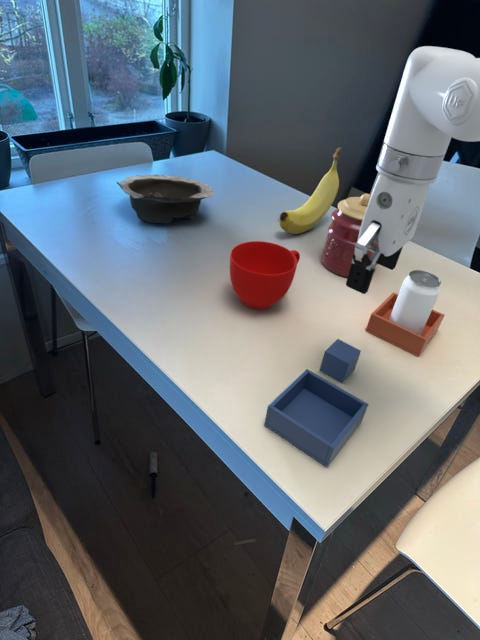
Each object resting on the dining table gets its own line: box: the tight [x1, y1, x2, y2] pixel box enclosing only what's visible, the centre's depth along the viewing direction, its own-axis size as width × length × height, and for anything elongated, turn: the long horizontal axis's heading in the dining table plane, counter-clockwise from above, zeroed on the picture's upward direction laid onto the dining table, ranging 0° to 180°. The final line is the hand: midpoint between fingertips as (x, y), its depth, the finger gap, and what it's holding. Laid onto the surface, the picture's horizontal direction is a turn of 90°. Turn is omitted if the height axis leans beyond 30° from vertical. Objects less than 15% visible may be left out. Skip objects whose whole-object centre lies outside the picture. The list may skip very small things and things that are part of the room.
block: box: [319, 338, 362, 384], centre depth 75 cm, size 4×4×4 cm
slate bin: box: [263, 368, 370, 468], centre depth 65 cm, size 11×11×4 cm
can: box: [389, 269, 442, 335], centre depth 83 cm, size 6×6×12 cm
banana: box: [278, 146, 343, 235], centre depth 115 cm, size 23×6×20 cm, turn 138°
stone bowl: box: [116, 174, 215, 224], centre depth 118 cm, size 25×25×9 cm
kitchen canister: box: [321, 193, 379, 278], centre depth 102 cm, size 13×13×18 cm
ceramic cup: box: [229, 240, 301, 310], centre depth 89 cm, size 13×17×10 cm
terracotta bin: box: [365, 291, 446, 357], centre depth 87 cm, size 11×11×4 cm
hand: (370, 277), depth 67 cm, fingers open, 9 cm apart
